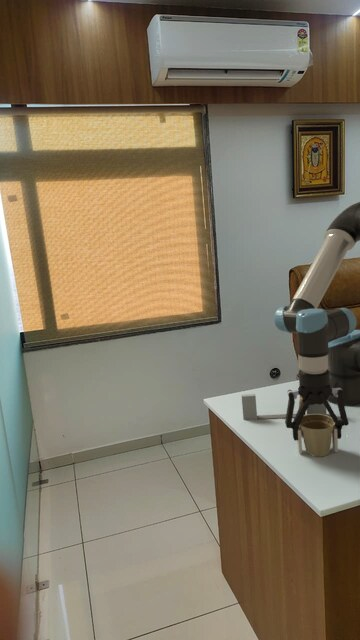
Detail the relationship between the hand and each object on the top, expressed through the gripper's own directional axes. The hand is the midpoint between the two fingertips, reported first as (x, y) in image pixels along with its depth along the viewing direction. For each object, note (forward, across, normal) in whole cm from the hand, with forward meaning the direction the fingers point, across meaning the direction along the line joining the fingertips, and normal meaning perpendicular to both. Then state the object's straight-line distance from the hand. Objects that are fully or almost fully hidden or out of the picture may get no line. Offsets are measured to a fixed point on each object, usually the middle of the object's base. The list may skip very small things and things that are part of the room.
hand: (317, 449), depth 111 cm
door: (0, +1, -15) cm, 15 cm away
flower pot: (+1, 0, 0) cm, 1 cm away
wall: (0, +6, -22) cm, 23 cm away
